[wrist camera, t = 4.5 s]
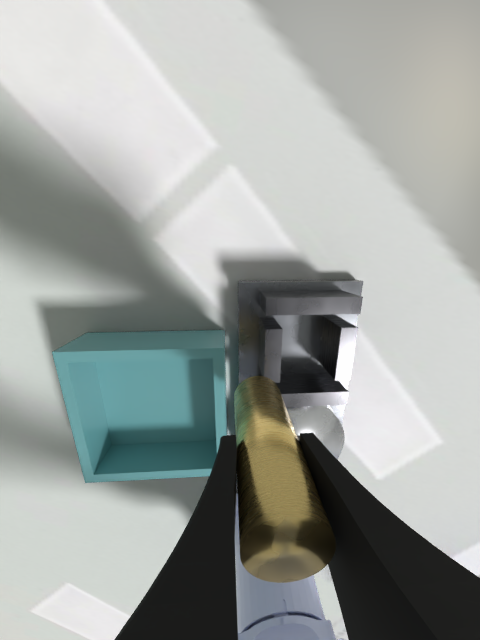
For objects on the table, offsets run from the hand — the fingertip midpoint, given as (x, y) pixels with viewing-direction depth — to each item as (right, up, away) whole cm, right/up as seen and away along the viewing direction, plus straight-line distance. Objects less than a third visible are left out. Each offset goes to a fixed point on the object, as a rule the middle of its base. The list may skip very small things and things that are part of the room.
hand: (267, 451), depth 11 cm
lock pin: (0, +1, +4) cm, 4 cm away
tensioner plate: (+4, 0, +11) cm, 12 cm away
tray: (-8, 0, +10) cm, 13 cm away
